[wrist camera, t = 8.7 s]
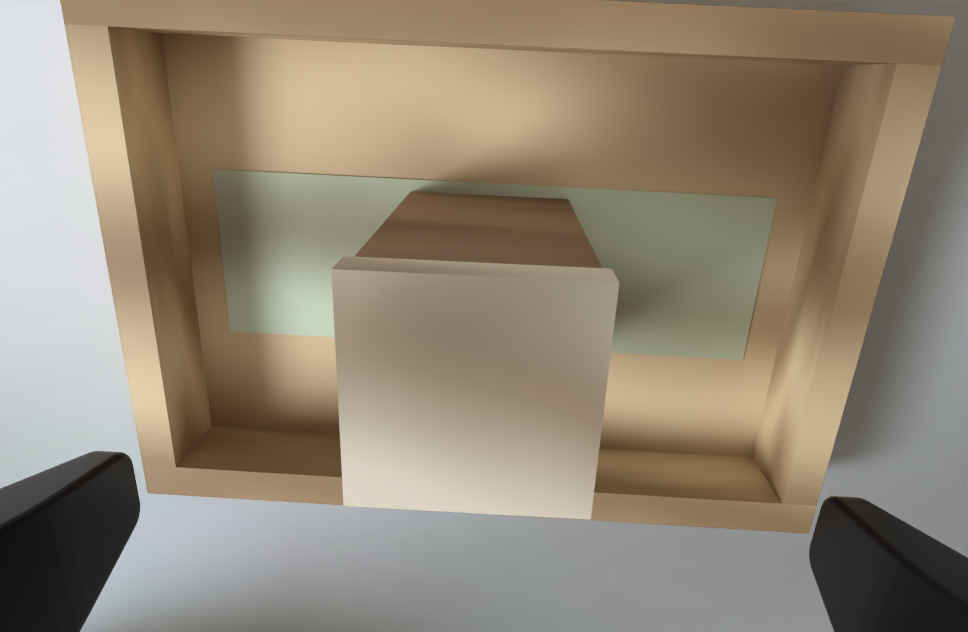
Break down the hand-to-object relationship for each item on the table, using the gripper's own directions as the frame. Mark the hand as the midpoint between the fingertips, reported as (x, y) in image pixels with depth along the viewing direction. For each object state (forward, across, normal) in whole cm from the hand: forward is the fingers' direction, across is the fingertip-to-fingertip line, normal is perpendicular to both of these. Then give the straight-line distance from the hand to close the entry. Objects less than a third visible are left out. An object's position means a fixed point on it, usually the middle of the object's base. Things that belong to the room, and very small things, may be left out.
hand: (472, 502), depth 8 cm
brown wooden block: (+11, 0, 0) cm, 11 cm away
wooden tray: (+12, 0, 0) cm, 12 cm away
